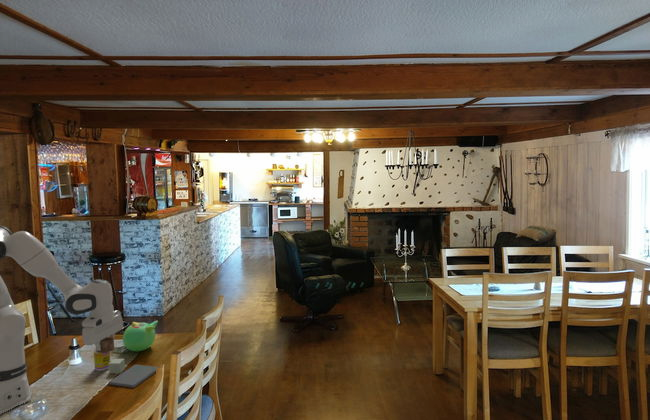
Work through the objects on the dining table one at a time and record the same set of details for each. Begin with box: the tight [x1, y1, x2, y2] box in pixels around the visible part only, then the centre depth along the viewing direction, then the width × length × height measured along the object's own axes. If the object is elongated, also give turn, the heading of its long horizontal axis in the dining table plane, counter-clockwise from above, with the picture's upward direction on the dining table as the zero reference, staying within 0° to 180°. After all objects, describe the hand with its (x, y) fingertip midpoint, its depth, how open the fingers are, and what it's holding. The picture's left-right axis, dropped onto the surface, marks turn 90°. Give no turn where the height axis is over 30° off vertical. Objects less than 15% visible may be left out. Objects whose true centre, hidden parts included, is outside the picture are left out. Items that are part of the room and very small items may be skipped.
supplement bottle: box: [93, 347, 111, 372], centre depth 211 cm, size 7×7×13 cm
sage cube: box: [108, 358, 126, 375], centre depth 208 cm, size 5×5×5 cm
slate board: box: [108, 364, 159, 389], centre depth 202 cm, size 18×13×1 cm
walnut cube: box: [95, 336, 115, 354], centre depth 194 cm, size 5×5×5 cm
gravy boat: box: [122, 320, 159, 352], centre depth 233 cm, size 18×17×15 cm
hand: (105, 347), depth 194 cm, fingers closed on walnut cube, 5 cm apart
